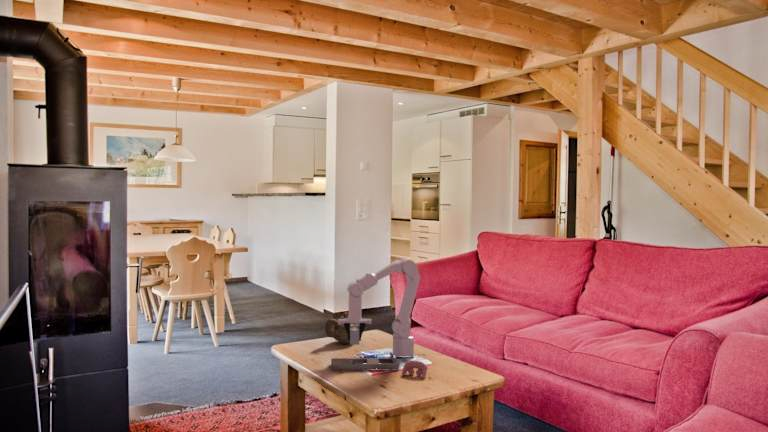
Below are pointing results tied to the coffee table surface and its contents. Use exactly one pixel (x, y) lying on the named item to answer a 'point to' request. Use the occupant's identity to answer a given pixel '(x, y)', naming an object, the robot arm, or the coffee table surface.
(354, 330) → the peg
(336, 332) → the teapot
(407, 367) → the video game controller
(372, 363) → the rail
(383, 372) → the coffee table surface
